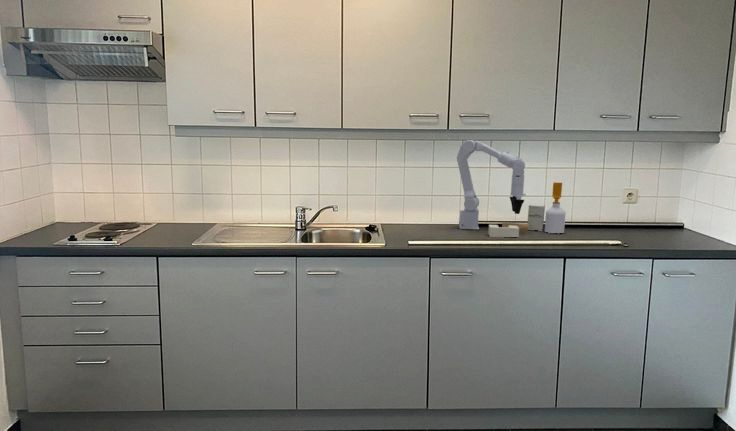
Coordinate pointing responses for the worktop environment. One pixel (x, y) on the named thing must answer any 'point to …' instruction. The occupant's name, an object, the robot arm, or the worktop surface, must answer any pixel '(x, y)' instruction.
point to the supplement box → (536, 217)
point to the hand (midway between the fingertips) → (515, 212)
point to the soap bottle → (555, 213)
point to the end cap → (503, 231)
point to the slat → (521, 226)
